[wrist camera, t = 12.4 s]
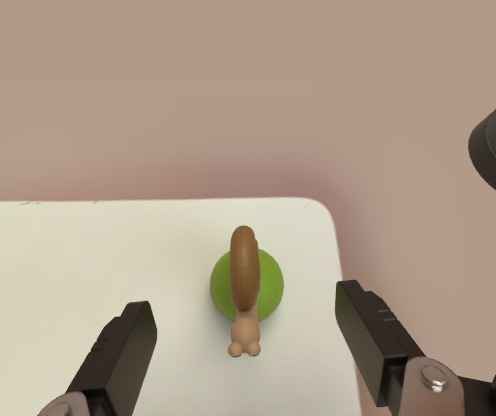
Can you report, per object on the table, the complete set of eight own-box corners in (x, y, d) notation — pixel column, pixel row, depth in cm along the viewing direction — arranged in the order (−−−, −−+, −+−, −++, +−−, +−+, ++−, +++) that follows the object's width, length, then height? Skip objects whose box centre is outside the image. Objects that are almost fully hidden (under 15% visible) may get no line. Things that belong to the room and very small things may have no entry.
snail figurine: (216, 338, 20) (168, 363, 9) (215, 257, 23) (177, 200, 12) (285, 334, 20) (320, 354, 9) (276, 253, 23) (296, 193, 12)
